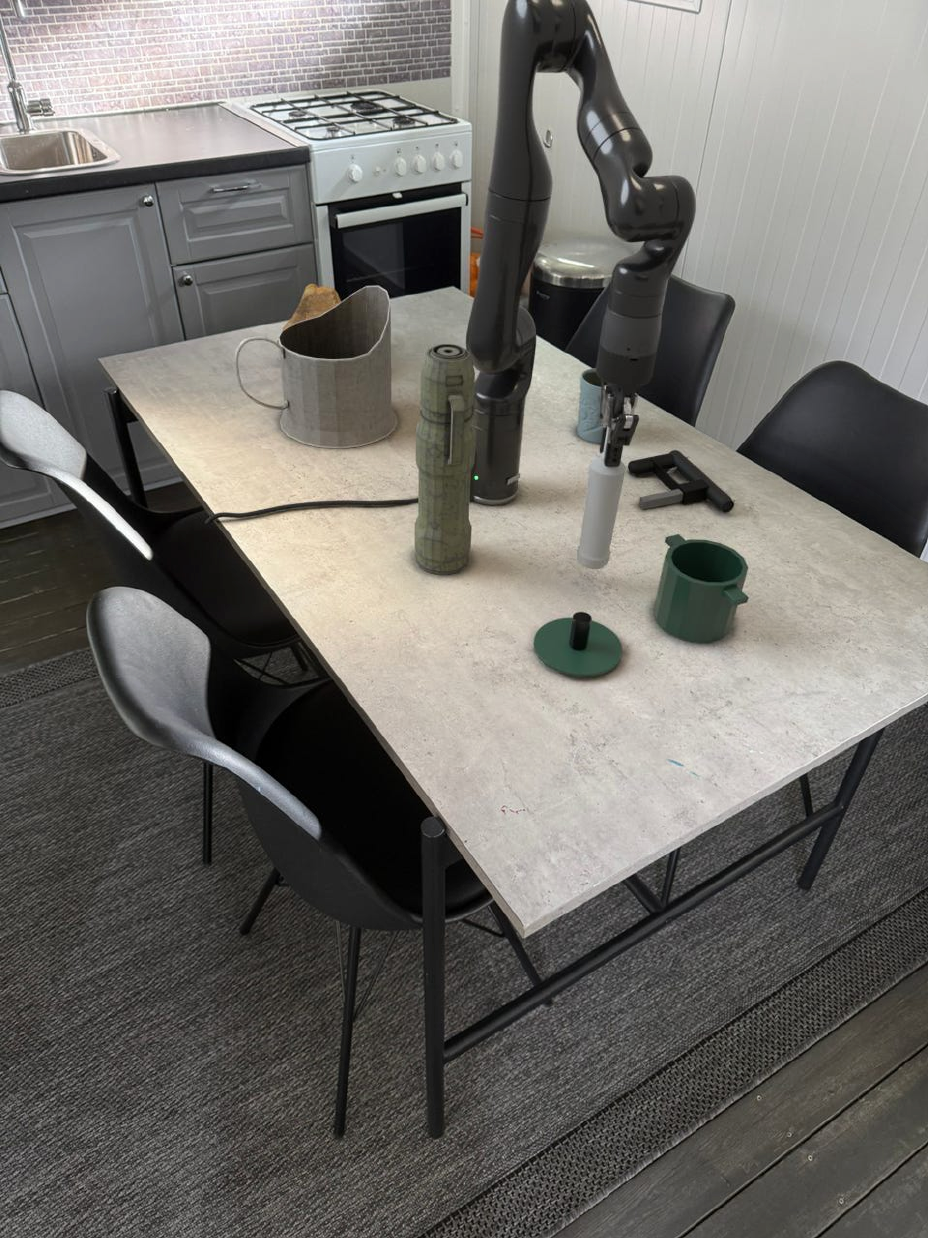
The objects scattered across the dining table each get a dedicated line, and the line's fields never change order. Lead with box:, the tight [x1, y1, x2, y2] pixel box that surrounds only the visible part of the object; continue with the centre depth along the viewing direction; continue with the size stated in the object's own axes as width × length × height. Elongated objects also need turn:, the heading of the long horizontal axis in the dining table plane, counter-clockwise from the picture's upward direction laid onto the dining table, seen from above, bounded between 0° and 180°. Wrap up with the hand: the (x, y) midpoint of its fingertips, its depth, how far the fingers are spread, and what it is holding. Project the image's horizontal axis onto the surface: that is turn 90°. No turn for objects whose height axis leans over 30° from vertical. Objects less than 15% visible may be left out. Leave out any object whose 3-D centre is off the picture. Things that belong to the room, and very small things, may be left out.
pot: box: [653, 533, 750, 644], centre depth 134 cm, size 12×17×10 cm
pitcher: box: [233, 285, 398, 449], centre depth 174 cm, size 23×32×25 cm
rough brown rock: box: [276, 283, 342, 344], centre depth 200 cm, size 23×17×15 cm
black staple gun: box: [627, 449, 736, 514], centre depth 166 cm, size 3×20×16 cm
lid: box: [533, 611, 623, 678], centre depth 129 cm, size 13×13×6 cm
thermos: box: [414, 343, 476, 576], centre depth 136 cm, size 9×12×35 cm
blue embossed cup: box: [576, 367, 604, 445], centre depth 180 cm, size 10×10×12 cm
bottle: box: [576, 419, 627, 570], centre depth 133 cm, size 5×5×25 cm
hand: (609, 459), depth 130 cm, fingers closed on bottle, 2 cm apart
